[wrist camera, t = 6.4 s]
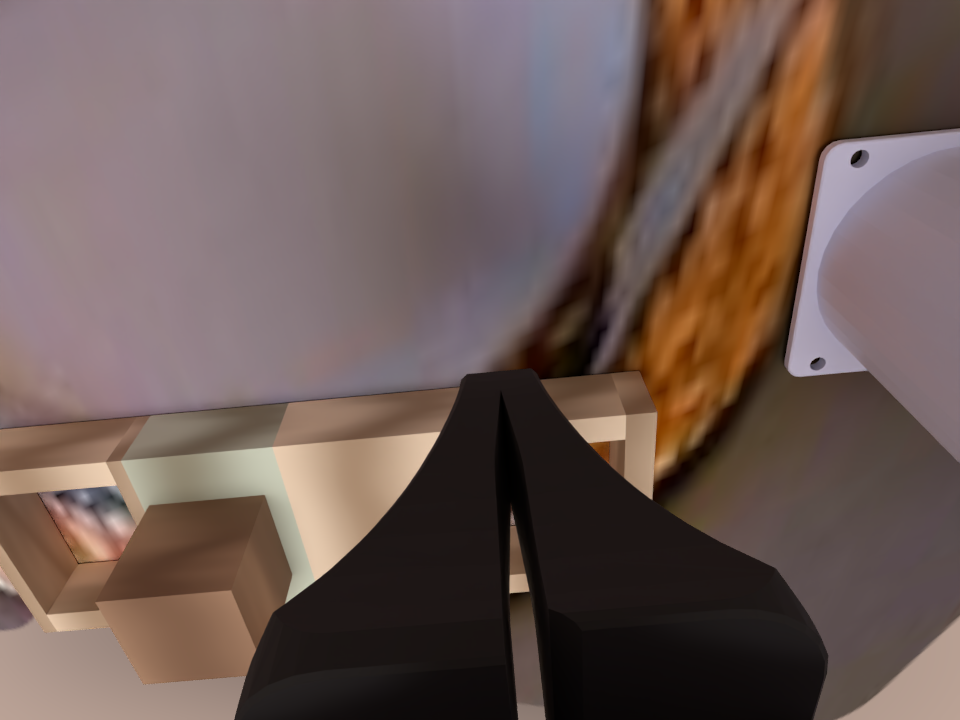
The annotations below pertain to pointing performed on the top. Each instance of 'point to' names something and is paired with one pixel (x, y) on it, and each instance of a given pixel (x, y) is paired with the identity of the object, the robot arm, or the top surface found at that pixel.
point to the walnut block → (197, 588)
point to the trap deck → (267, 475)
